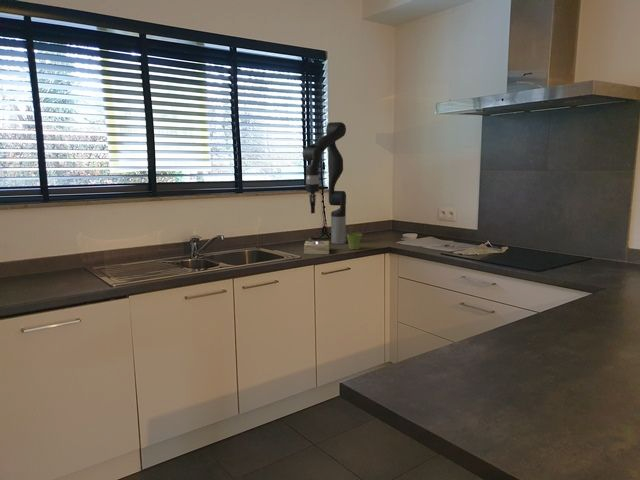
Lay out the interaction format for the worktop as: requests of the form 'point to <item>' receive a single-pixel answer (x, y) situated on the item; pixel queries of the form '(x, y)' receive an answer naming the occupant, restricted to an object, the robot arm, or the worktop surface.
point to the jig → (316, 247)
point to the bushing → (318, 242)
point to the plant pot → (354, 240)
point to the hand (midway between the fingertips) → (312, 213)
